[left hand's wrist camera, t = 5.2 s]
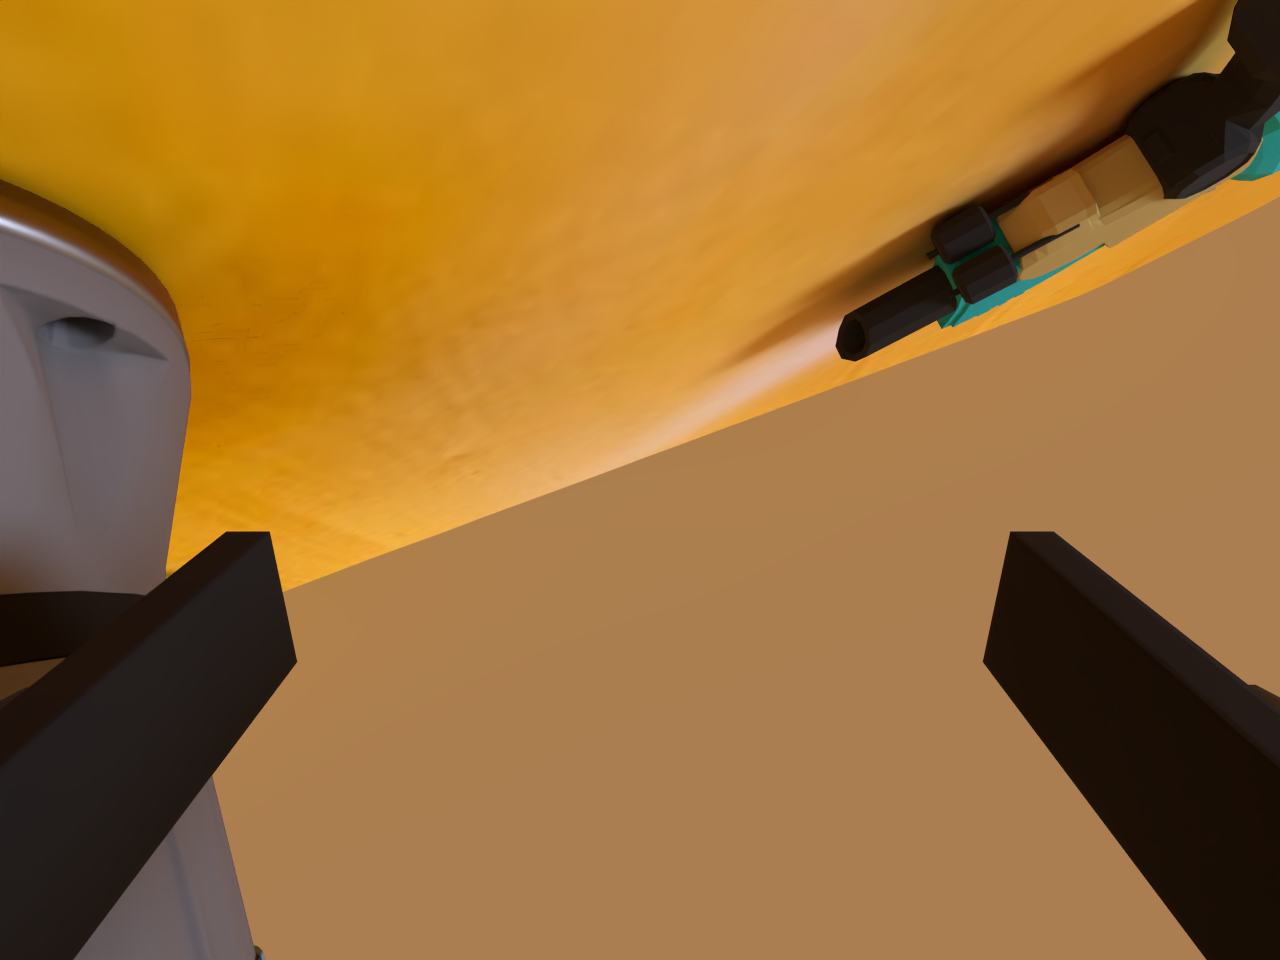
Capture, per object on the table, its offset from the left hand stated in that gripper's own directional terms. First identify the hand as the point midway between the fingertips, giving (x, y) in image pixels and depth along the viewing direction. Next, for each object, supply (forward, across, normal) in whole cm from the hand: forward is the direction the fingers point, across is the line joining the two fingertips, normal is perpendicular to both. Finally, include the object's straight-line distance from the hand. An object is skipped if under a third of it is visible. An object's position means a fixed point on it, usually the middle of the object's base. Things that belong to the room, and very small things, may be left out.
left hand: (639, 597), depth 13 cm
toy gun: (+26, -20, -9) cm, 34 cm away
